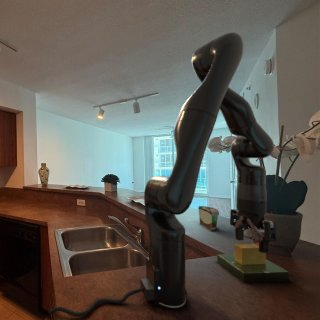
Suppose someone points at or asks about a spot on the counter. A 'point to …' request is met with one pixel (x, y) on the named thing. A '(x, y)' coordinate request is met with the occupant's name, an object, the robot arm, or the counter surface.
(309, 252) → the counter surface
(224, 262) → the holder base
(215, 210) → the food container
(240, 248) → the yellow rectangular block
